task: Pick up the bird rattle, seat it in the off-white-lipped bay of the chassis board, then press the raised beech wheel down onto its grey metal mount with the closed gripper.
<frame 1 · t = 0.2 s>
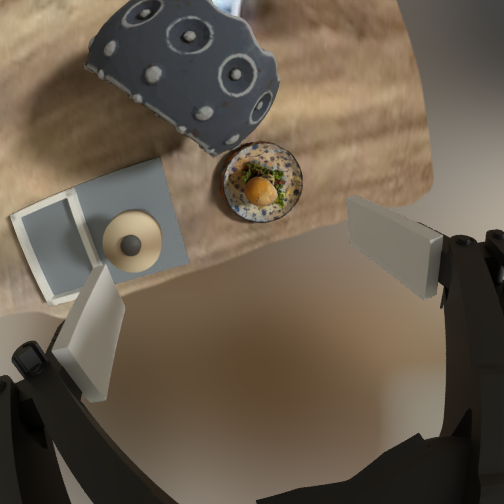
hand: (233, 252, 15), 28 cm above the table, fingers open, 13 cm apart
wheel: (132, 241, 33), point 9 cm above the table, slide at 3.0 cm
burger: (260, 181, 43), on the table
dotted grey bowl: (181, 86, 35), on the table
chassis board: (93, 235, 39), on the table
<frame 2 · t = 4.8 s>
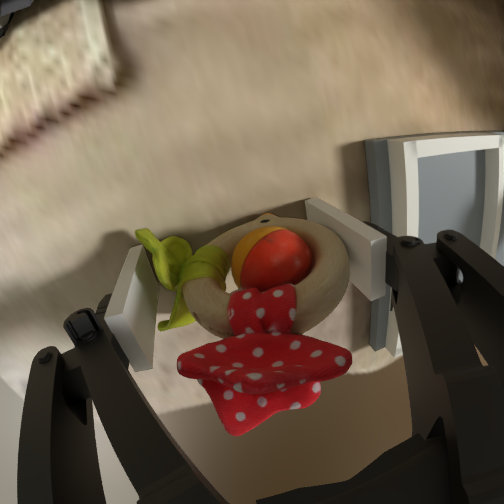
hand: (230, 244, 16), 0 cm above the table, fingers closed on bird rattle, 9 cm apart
bird rattle: (225, 241, 16), on the table, touching gripper
chassis board: (480, 219, 21), on the table
when the fingers open (3 cm above the table, at t = 10.3 s): bird rattle drops 2 cm, resting on chassis board.
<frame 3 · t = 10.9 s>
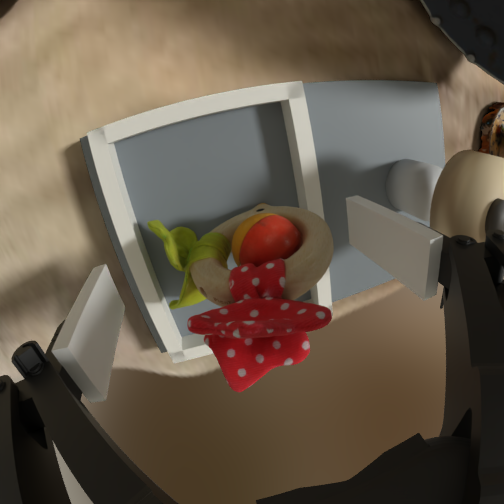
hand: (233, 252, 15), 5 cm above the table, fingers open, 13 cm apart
wheel: (483, 213, 13), point 9 cm above the table, slide at 3.0 cm
burger: (499, 152, 23), on the table
dotted grey bowl: (439, 3, 15), on the table
bird rattle: (226, 229, 19), point 1 cm above the table, touching chassis board
chassis board: (307, 202, 20), on the table
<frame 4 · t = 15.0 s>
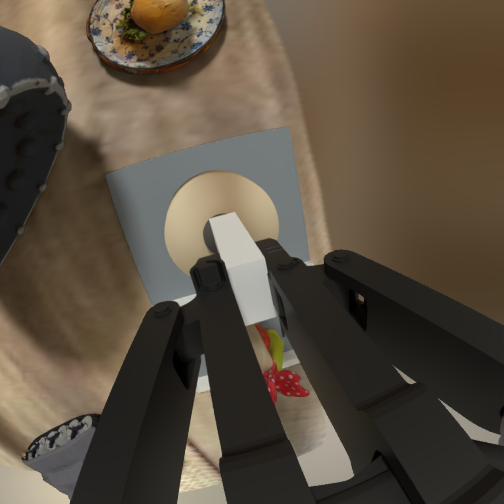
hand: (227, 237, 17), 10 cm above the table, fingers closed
toy tank: (93, 447, 36), on the table
wheel: (220, 228, 19), point 8 cm above the table, slide at 2.1 cm, touching gripper
burger: (156, 18, 18), on the table
dotted grey bowl: (15, 157, 20), on the table
bird rattle: (245, 328, 31), point 1 cm above the table, touching chassis board
chassis board: (229, 278, 29), on the table
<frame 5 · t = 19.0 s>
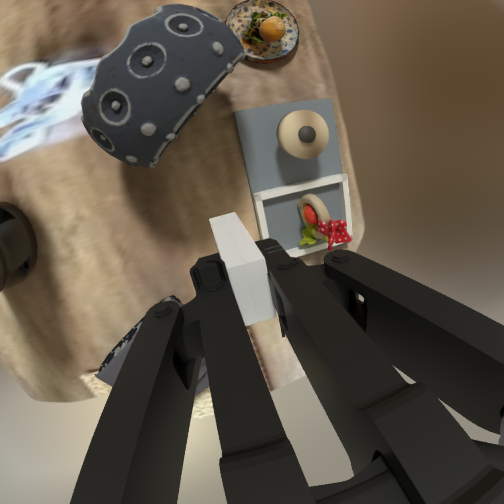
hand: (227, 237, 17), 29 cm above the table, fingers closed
toy tank: (164, 349, 55), on the table
wheel: (303, 134, 39), point 6 cm above the table, slide at 0.2 cm
burger: (259, 32, 37), on the table
dotted grey bowl: (167, 95, 38), on the table
bird rattle: (305, 215, 49), point 1 cm above the table, touching chassis board
chassis board: (297, 181, 47), on the table
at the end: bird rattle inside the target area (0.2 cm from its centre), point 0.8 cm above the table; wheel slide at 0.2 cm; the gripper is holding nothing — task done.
